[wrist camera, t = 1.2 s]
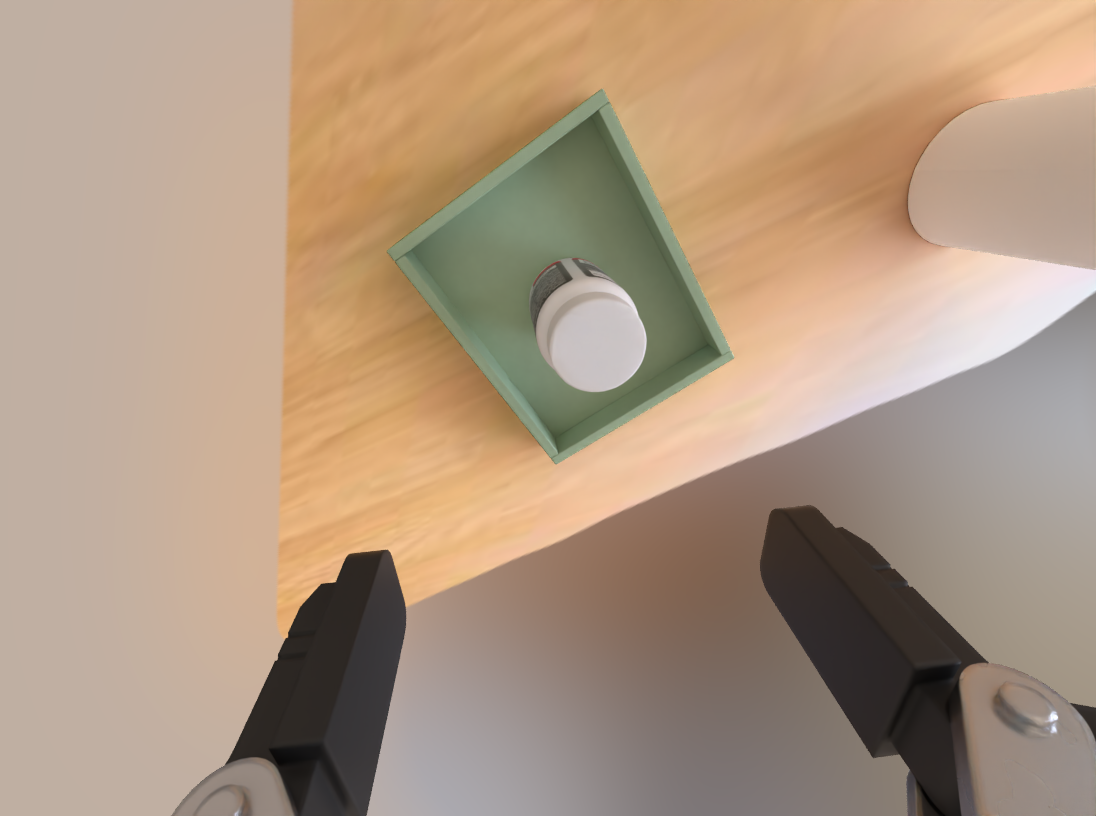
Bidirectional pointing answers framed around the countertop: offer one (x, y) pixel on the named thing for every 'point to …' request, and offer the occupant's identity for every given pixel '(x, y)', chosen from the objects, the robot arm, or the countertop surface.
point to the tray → (553, 234)
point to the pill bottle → (586, 325)
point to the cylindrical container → (1013, 180)
